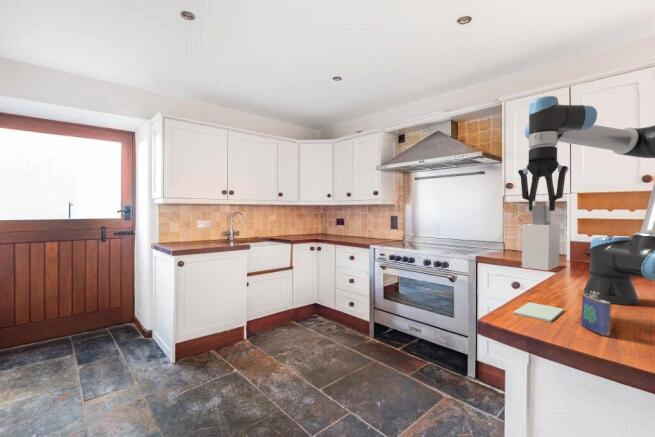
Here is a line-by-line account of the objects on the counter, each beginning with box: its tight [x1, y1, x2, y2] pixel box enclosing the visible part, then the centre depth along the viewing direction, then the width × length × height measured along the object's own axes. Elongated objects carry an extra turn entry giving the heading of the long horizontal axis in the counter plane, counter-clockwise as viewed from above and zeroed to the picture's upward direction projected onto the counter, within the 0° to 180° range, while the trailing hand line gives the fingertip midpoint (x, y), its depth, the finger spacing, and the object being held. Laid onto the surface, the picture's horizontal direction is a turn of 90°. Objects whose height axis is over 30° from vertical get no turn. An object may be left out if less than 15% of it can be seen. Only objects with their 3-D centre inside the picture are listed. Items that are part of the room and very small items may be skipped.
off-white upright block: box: [521, 205, 561, 271], centre depth 101 cm, size 7×13×20 cm, turn 132°
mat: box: [512, 301, 565, 323], centre depth 102 cm, size 10×16×1 cm, turn 132°
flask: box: [580, 291, 612, 338], centre depth 86 cm, size 9×3×11 cm, turn 172°
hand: (541, 221), depth 101 cm, fingers closed on off-white upright block, 3 cm apart
